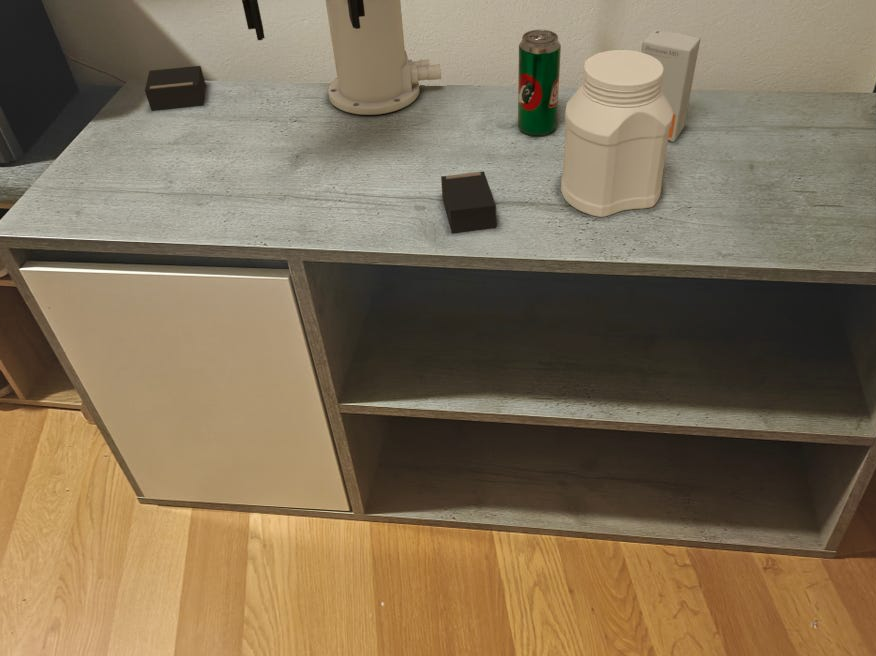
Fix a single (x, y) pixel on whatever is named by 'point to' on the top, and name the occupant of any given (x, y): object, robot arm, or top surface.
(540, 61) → the soda can
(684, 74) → the cosmetic box
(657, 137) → the jar
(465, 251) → the top surface
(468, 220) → the black box
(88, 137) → the top surface
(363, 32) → the robot arm
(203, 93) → the charcoal pad
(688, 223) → the top surface
